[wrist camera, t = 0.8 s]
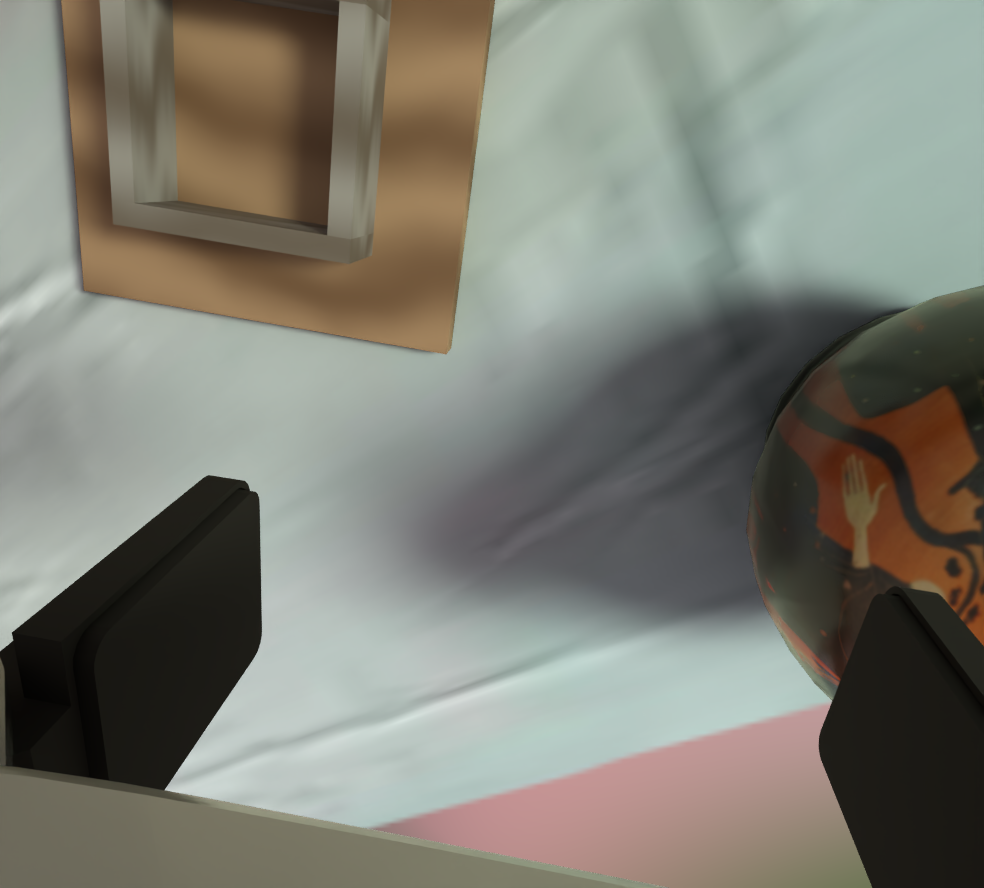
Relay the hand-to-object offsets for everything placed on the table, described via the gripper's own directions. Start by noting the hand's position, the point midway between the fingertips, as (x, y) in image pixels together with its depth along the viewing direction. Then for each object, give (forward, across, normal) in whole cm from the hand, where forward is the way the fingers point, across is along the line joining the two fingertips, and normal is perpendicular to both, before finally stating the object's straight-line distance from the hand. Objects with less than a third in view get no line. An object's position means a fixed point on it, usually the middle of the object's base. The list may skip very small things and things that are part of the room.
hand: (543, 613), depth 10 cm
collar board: (+31, +17, -7) cm, 36 cm away
